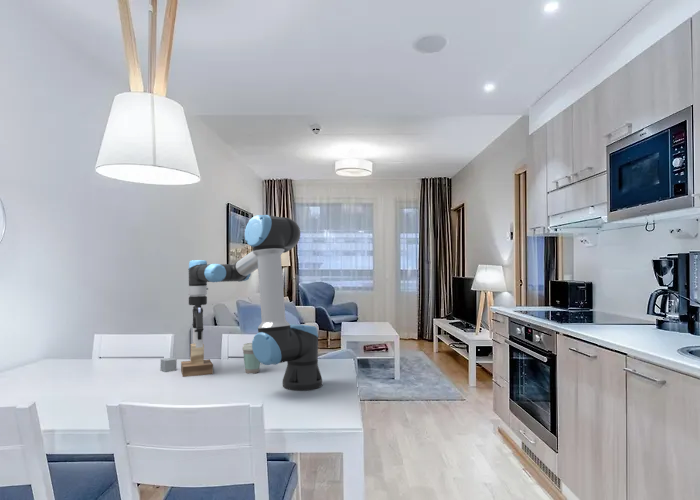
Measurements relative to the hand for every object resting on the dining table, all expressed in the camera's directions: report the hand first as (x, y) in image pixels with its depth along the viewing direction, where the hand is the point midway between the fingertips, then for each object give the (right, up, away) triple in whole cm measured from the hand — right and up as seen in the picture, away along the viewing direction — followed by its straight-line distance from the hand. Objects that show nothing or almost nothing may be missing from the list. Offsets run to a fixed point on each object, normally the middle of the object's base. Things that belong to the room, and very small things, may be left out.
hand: (197, 345), depth 193 cm
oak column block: (0, -8, 0) cm, 8 cm away
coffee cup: (+23, -12, 0) cm, 26 cm away
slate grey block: (-14, -12, +3) cm, 19 cm away
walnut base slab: (0, -12, 0) cm, 12 cm away
